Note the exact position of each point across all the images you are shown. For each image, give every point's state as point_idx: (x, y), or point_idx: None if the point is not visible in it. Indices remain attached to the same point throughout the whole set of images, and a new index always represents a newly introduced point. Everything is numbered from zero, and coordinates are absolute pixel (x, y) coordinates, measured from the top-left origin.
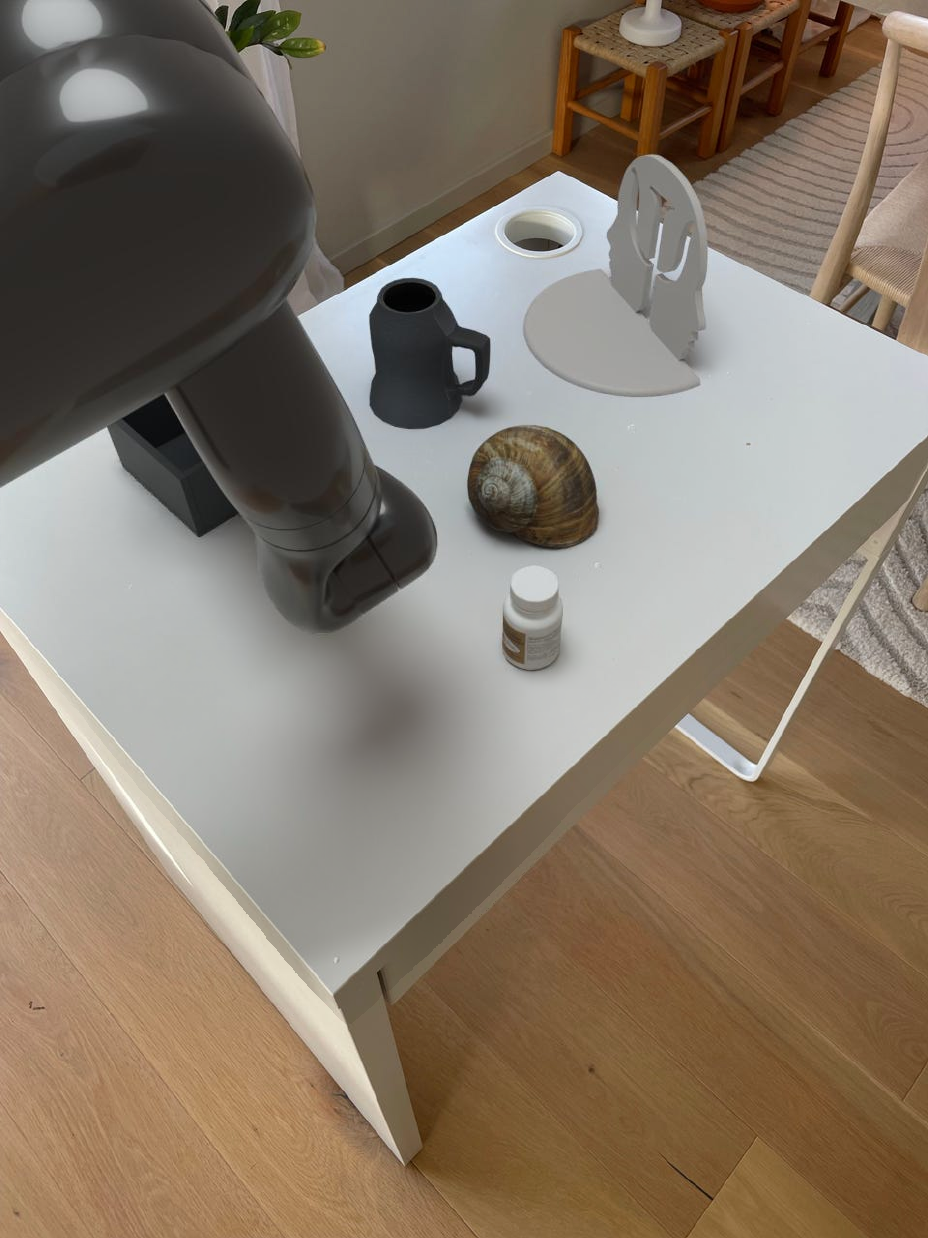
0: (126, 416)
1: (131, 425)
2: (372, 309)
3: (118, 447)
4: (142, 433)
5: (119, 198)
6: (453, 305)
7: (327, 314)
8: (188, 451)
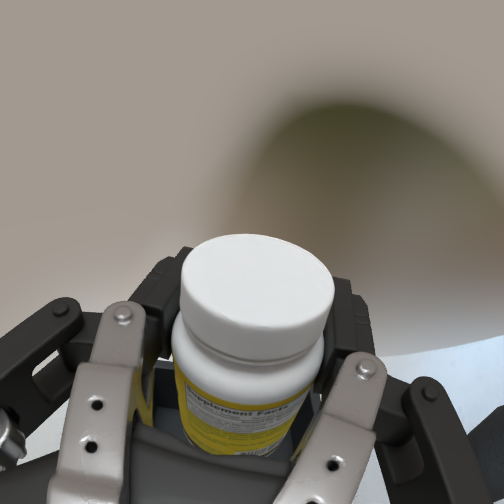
0: (163, 379)
1: (166, 387)
2: (492, 420)
3: None
4: (177, 397)
5: None
6: (495, 393)
7: (414, 356)
8: None
